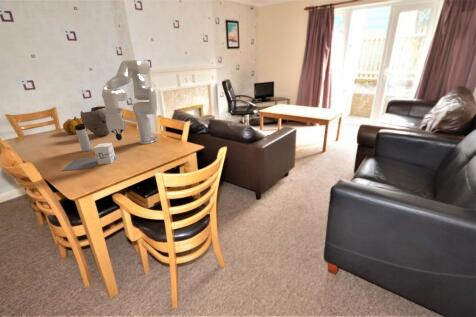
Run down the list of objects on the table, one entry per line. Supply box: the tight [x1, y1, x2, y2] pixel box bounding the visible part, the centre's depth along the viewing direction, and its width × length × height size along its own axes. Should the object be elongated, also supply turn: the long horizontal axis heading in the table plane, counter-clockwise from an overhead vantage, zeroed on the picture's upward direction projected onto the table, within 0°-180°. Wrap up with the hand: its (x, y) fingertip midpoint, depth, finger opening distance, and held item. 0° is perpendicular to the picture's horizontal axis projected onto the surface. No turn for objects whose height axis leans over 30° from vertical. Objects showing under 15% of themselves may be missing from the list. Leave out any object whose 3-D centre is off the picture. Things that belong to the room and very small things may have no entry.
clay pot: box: [79, 105, 110, 137], centre depth 211 cm, size 24×24×25 cm
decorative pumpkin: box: [62, 116, 89, 135], centre depth 226 cm, size 20×22×15 cm
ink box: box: [93, 142, 117, 165], centre depth 156 cm, size 8×8×12 cm
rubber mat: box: [61, 156, 98, 172], centre depth 156 cm, size 18×18×1 cm
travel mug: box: [75, 124, 93, 153], centre depth 176 cm, size 6×7×20 cm
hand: (119, 139), depth 154 cm, fingers closed
